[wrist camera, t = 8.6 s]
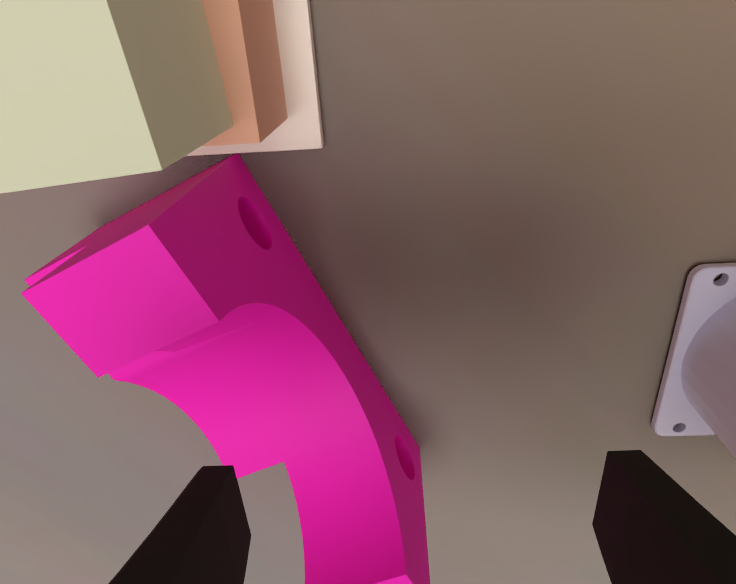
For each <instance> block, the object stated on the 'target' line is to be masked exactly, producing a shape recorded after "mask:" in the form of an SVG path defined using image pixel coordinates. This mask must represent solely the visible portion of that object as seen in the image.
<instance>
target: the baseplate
mask: <svg viewBox="0 0 736 584" xmlns="http://www.w3.org/2000/svg"><path fill="white" fill-rule="evenodd" d="M273 7H274V15H275V23H276V31H277V38H278V46H279V54H280V62H281V69H282V77H283V85H284V93H285V100H286V108H287V116H288V119H286V120H285V121H284V122H283V123H282V124H281V125H280V126H279V127H277V128H276V129H275V130H274V131H273V132H272V133H271V134H270V135H269V136H267V137H266V138H265V139H264V140H263V141H262V142H261V143H251V144H234V145H217V146H200V147H199V148H197V149H196V150H194V151H192V152H191V153H189V154H188V155H186V156H197V155H215V154H232V153H249V152H267V151H284V150H302V149H319V148H323V146H324V139H323V129H322V119H321V109H320V99H319V89H318V79H317V69H316V59H315V49H314V39H313V29H312V19H311V9H310V0H273Z"/></svg>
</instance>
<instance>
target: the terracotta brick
mask: <svg viewBox="0 0 736 584" xmlns="http://www.w3.org/2000/svg"><path fill="white" fill-rule="evenodd" d="M202 2H203V6H204V10H205V14H206V18H207V22H208V26H209V30H210V34H211V38H212V42H213V46H214V50H215V54H216V58H217V61H218V65H219V69H220V73H221V77H222V81H223V85H224V89H225V93H226V97H227V101H228V105H229V109H230V113H231V116H232V120H233V124H234V126H232V127H231V128H229V129H228V130H226V131H224V132H223V133H221V134H220V135H218V136H216V137H215V138H213V139H212V140H210V141H208V142H207V143H205V144H204V145H202V146H217V145H234V144H251V143H261V142H262V141H263V140H264V139H265V138H266V137H267V136H269V135H270V134H271V133H272V132H273V131H274V130H275V129H276V128H277V127H279V126H280V125H281V124H282V123H283V122H284V121H285V120H286V119H288V116H287V108H286V100H285V93H284V85H283V77H282V69H281V62H280V54H279V46H278V38H277V31H276V23H275V15H274V7H273V0H202Z"/></svg>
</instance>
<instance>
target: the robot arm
mask: <svg viewBox="0 0 736 584" xmlns="http://www.w3.org/2000/svg"><path fill="white" fill-rule="evenodd" d="M721 273H722V276H721V278H720V279H718V280H717V281H714V282H713V280H714V278H715V277H716V276H717V275H718V274H721ZM678 423H680V424H678ZM676 424H678V425H676ZM674 425H676V426H674ZM651 426H652V428H653V429H654V431H655V432H656V434H658V435H660V436H692V435H716V436H717V437H718V438H719V439H720V441H721V442H722V443H723V444H724V446H725V447H726V448H727V449H728V451H729V452H730V453H731V454H732V455H733V457H734V458H735V459H736V263H714V264H702V265H698V266H696V267H695V268H693V269H692V270H691V271H690V273H689V275H688V277H687V281H686V285H685V289H684V293H683V297H682V301H681V305H680V309H679V313H678V317H677V321H676V325H675V329H674V333H673V337H672V341H671V345H670V350H669V354H668V358H667V362H666V366H665V370H664V374H663V378H662V382H661V386H660V390H659V394H658V398H657V402H656V406H655V410H654V414H653V418H652V422H651ZM592 525H593V528H594V531H595V534H596V538H597V541H598V544H599V547H600V550H601V553H602V557H603V559H604V562H605V565H606V568H607V571H608V574H609V577H610V580H611V582H612V584H736V535H734V534H733V533H732V532H731V531H730V530H729V529H728V528H726V527H725V526H724V525H723V524H722V523H721V522H720V521H718V520H717V519H716V518H715V517H714V516H713V515H712V514H711V513H709V512H708V511H707V510H706V509H705V508H704V507H703V506H702V505H701V504H699V503H698V502H697V501H696V500H695V499H694V498H693V497H692V496H691V495H689V494H688V493H687V492H686V491H685V490H684V489H683V488H682V487H681V486H680V485H678V484H677V483H676V482H675V481H674V480H673V479H672V478H671V477H670V476H669V475H667V474H666V473H665V472H664V471H663V470H662V469H661V468H660V467H659V466H658V465H656V464H655V463H654V462H653V461H652V460H651V459H650V458H649V457H648V456H646V455H645V454H644V453H643V452H642V451H641V450H628V451H608V452H607V456H606V461H605V466H604V471H603V476H602V480H601V485H600V490H599V495H598V500H597V505H596V509H595V514H594V519H593V524H592ZM250 539H251V533H250V529H249V525H248V521H247V517H246V513H245V509H244V505H243V501H242V497H241V493H240V489H239V486H238V482H237V478H236V474H235V470H234V466H233V465H227V466H203V467H202V468H201V469H200V470H199V471H198V472H197V473H196V475H195V476H194V477H193V479H192V480H191V481H190V482H189V484H188V485H187V486H186V488H185V489H184V490H183V492H182V493H181V494H180V496H179V497H178V498H177V499H176V501H175V502H174V503H173V505H172V506H171V507H170V509H169V510H168V511H167V512H166V514H165V515H164V516H163V518H162V519H161V520H160V521H159V523H158V524H157V525H156V527H155V528H154V529H153V530H152V532H151V533H150V534H149V535H148V537H147V538H146V539H145V540H144V541H143V543H142V544H141V545H140V546H139V548H138V549H137V550H136V551H135V552H134V554H133V555H132V556H131V557H130V559H129V560H128V561H127V562H126V564H125V565H124V566H123V567H122V568H121V570H120V571H119V572H118V573H117V574H116V576H115V577H114V578H113V579H112V580H111V581H110V583H109V584H243V583H244V577H245V572H246V566H247V559H248V552H249V546H250Z"/></svg>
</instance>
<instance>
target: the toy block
mask: <svg viewBox="0 0 736 584" xmlns="http://www.w3.org/2000/svg"><path fill="white" fill-rule="evenodd" d="M25 281H26V282H27V283H28V285H29V286H30V287H29V288H28V289H26V290H25V291H24V292H22V293H21V294H22V295H23V296H24V297H25V298H26V299H27V300H28V301H29V303H30V304H31V305H32V306H33V307H34V308H35V309H36V310H37V311H38V312H39V314H40V315H41V316H42V317H43V318H44V319H45V320H46V321H47V322H48V323H49V325H50V326H51V327H52V328H53V329H54V330H55V331H56V332H57V333H58V334H59V336H60V337H61V338H62V339H63V340H64V341H65V342H66V343H67V344H68V345H69V347H70V348H71V349H72V350H73V351H74V352H75V353H76V354H77V355H78V356H79V357H80V359H81V360H82V361H83V362H84V363H85V364H86V365H87V366H88V367H89V368H90V370H91V371H92V372H93V373H94V374H95V375H96V376H97V377H100V376H102V375H105V374H107V373H108V374H109V375H110V376H111V377H112V378H113V379H114V380H117V381H125V382H130V383H133V384H137V385H141V386H143V387H146V388H148V389H151V390H153V391H155V392H157V393H159V394H161V395H162V396H164V397H166V398H167V399H169V400H170V401H172V402H173V403H174V404H176V405H177V406H178V407H179V408H181V409H182V410H183V411H184V412H185V413H186V414H187V415H188V416H189V417H190V418H191V419H192V420H193V421H194V422H195V423H196V424H197V426H198V427H199V428H200V429H201V430H202V432H203V433H204V434H205V436H206V437H207V439H208V440H209V441H210V443H211V445H212V446H213V448H214V449H215V451H216V453H217V455H218V456H219V458H220V460H221V462H222V464H223V466H227V465H233V466H234V470H235V474H236V478H240V477H243V476H245V475H248V474H251V473H253V472H256V471H259V470H262V469H264V468H267V467H270V466H272V465H275V464H278V463H280V462H283V461H284V463H285V466H286V468H287V471H288V474H289V477H290V480H291V484H292V487H293V491H294V494H295V498H296V502H297V507H298V512H299V517H300V523H301V529H302V536H303V546H304V560H305V584H430V576H429V563H428V550H427V537H426V524H425V512H424V499H423V486H422V473H421V460H420V448H419V446H418V445H417V443H416V441H415V440H414V438H413V437H412V435H411V433H410V432H409V430H408V428H407V427H406V425H405V424H404V422H403V420H402V419H401V417H400V415H399V414H398V412H397V411H396V409H395V407H394V406H393V404H392V402H391V401H390V399H389V398H388V396H387V394H386V393H385V391H384V389H383V388H382V386H381V385H380V383H379V381H378V380H377V378H376V376H375V375H374V373H373V372H372V370H371V368H370V367H369V365H368V363H367V362H366V360H365V359H364V357H363V355H362V354H361V352H360V350H359V349H358V347H357V346H356V344H355V342H354V341H353V339H352V337H351V336H350V334H349V333H348V331H347V329H346V328H345V326H344V324H343V323H342V321H341V320H340V318H339V316H338V315H337V313H336V311H335V310H334V308H333V307H332V305H331V303H330V302H329V300H328V298H327V297H326V295H325V294H324V292H323V290H322V289H321V287H320V285H319V284H318V282H317V281H316V279H315V277H314V276H313V274H312V272H311V271H310V269H309V268H308V266H307V264H306V263H305V261H304V259H303V258H302V256H301V255H300V253H299V251H298V250H297V248H296V246H295V245H294V243H293V242H292V240H291V238H290V237H289V235H288V233H287V232H286V230H285V229H284V227H283V225H282V224H281V222H280V220H279V219H278V217H277V216H276V214H275V212H274V211H273V209H272V207H271V206H270V204H269V203H268V201H267V199H266V198H265V196H264V194H263V193H262V191H261V190H260V188H259V186H258V185H257V183H256V181H255V180H254V178H253V177H252V175H251V173H250V172H249V170H248V168H247V167H246V165H245V164H244V162H243V160H242V159H241V157H240V155H239V154H238V153H235V154H233V155H231V156H229V157H227V158H226V159H224V160H222V161H220V162H218V163H216V164H215V165H213V166H211V167H209V168H207V169H206V170H204V171H202V172H200V173H198V174H197V175H195V176H193V177H191V178H189V179H187V180H186V181H184V182H182V183H180V184H178V185H177V186H175V187H173V188H171V189H169V190H168V191H166V192H164V193H162V194H160V195H158V196H157V197H155V198H153V199H151V200H149V201H148V202H146V203H144V204H142V205H140V206H139V207H137V208H135V209H133V210H131V211H129V212H128V213H126V214H124V215H122V216H120V217H119V218H117V219H115V220H113V221H111V222H110V223H108V224H106V225H104V226H102V227H101V228H99V229H97V230H96V231H94V232H93V233H91V234H90V235H88V236H87V237H86V238H84V239H83V240H81V241H80V242H78V243H77V244H75V245H74V246H72V247H71V248H70V249H68V250H67V251H65V252H64V253H62V254H61V255H59V256H58V257H57V258H55V259H54V260H52V261H51V262H49V263H48V264H46V265H45V266H43V267H42V268H41V269H39V270H38V271H36V272H35V273H33V274H32V275H30V276H29V277H28V278H26V279H25Z"/></svg>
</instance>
